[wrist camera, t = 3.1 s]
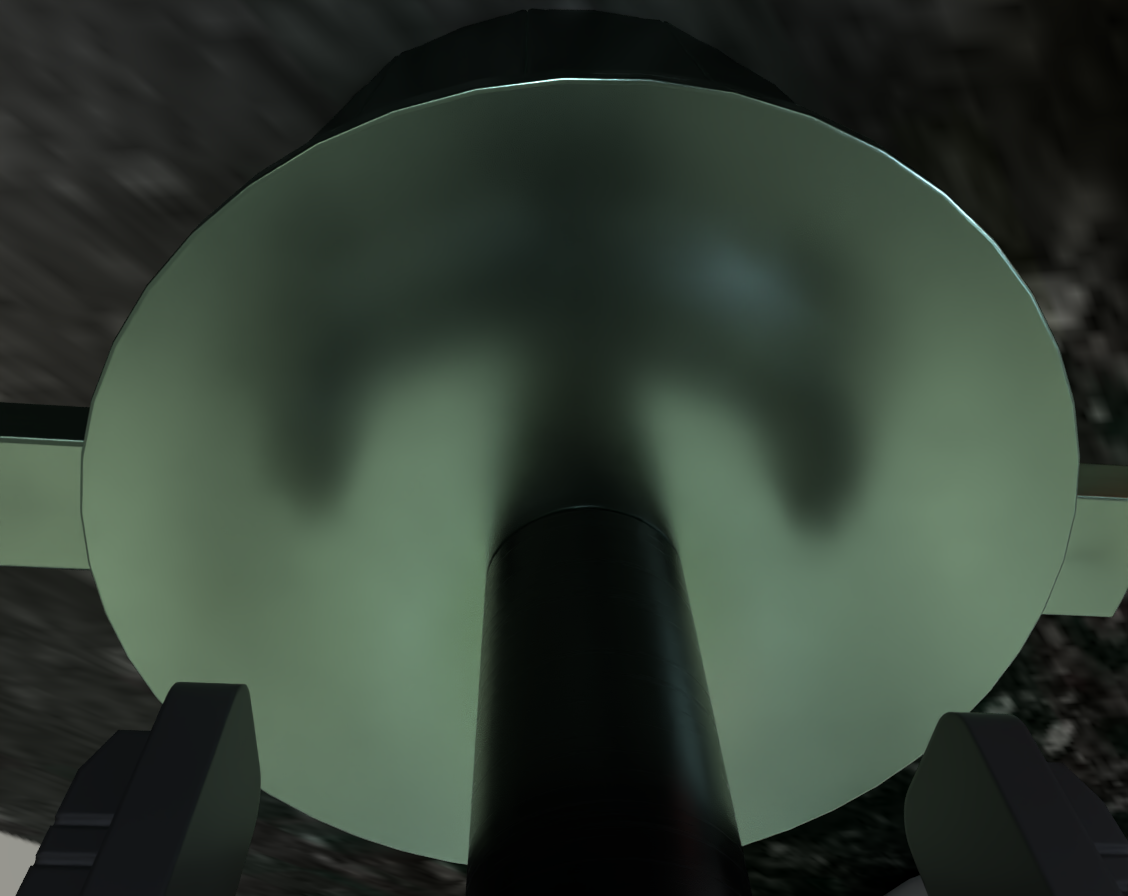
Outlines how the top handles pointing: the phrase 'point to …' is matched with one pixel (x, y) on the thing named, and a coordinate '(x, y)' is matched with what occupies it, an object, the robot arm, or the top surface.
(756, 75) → the pot
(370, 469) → the lid
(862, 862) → the top surface
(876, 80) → the top surface
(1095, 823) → the robot arm
